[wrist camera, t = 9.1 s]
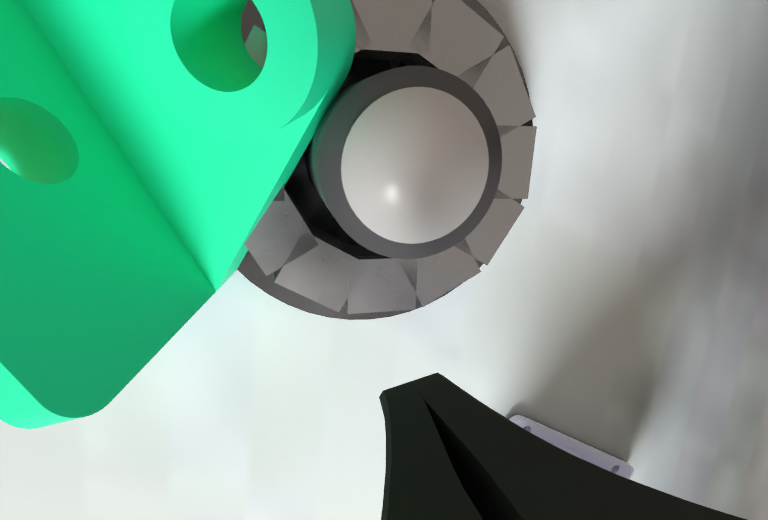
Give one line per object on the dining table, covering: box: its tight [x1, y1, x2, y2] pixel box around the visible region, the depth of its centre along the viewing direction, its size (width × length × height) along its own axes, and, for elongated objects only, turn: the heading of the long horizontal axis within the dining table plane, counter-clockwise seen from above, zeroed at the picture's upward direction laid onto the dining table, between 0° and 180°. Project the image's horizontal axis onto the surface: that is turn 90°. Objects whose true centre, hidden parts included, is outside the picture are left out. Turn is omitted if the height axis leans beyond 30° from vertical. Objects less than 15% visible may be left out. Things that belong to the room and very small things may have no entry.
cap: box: [304, 66, 502, 259], centre depth 14 cm, size 5×5×5 cm
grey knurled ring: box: [237, 0, 537, 320], centre depth 16 cm, size 13×13×3 cm
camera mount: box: [0, 0, 356, 429], centre depth 10 cm, size 12×8×10 cm
